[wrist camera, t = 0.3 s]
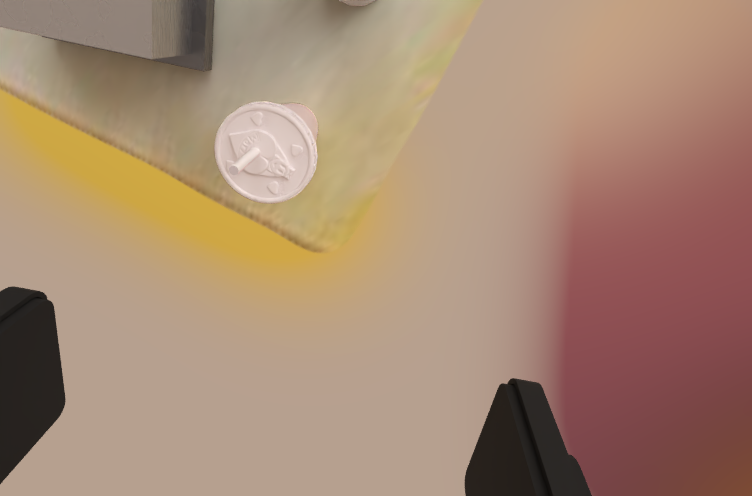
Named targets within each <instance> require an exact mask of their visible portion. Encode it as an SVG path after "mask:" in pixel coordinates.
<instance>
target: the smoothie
mask: <svg viewBox="0 0 752 496" xmlns="http://www.w3.org/2000/svg"><path fill="white" fill-rule="evenodd" d="M317 134H318V122H317V119H316V117H315V115H314V114H313V112H312V111H311V110H310V109H309V108H307V107H306V106H304V105H302V104H298V103H288V104H277V103H272V102H268V101H261V102H251V103H249V104H246V105H243V106H240V107H239V108H238V109H236V110H235V111H234V112H232V113H231V114H230V115H228V116H227V117H226V119H225V120H224V121H223V122H222V124H221V125H220V127H219V129H218V132H217V135H216V138H215V146H214V151H215V158H216V162H217V166H218V168H219V170H220V172H221V174H222V176H223V178H224V179H225V180H226V182H227V183H228V184H229V185H230V186H231V187H232V188H233V189H234V190H235V191H236V192H238V193H239V194H241V195H242V196H244V197H246V198H248V199H250V200H253V201H256V202H260V203H279V202H283V201H286V200H289V199H291V198H293V197H294V196H296V195H297V194H299V193H300V192H301V191H302V190H303V189H304V188H305V187H306V185H307V184H308V183H309V182H310V181H311V179H312V176H313V174H314V172H315V170H316V164H317V158H318V156H317V148H316V139H317Z"/></svg>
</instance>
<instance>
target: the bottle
mask: <svg viewBox="0 0 752 496" xmlns="http://www.w3.org/2000/svg"><path fill="white" fill-rule="evenodd" d="M339 1H341V2H343V3H345V4H347V5H354V6H365V5H367V4H370V3H372V2H374V1H377V0H339Z"/></svg>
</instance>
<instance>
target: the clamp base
mask: <svg viewBox="0 0 752 496" xmlns="http://www.w3.org/2000/svg"><path fill="white" fill-rule="evenodd" d="M213 20H214V0H0V27H3V28H8V29H13V30H17V31H22V32H27V33H31V34H36V35H41V36H42V37H46V38H51V39H56V40H60V41H65V42H70V43H74V44H79V45H84V46H88V47H93V48H98V49H102V50H107V51H112V52H116V53H121V54H126V55H130V56H135V57H140V58H144V59H149V60H154V61H159V62H163V63H168V64H173V65H177V66H182V67H187V68H191V69H196V70H201V71H207V70H211V63H212V41H213Z"/></svg>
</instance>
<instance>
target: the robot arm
mask: <svg viewBox="0 0 752 496" xmlns="http://www.w3.org/2000/svg"><path fill="white" fill-rule="evenodd" d="M54 312H55V311H54V306H53V304H52V302H51V301H49V300H47V296H46V295H45V294H44V293H43V292H40V291H35V290H30V289H24V288H19V287H8V288H6V289H4V290H2V291H1V292H0V484H1V483H2V481H3V480H4V479H5V478H6V477H7V476H8V475H9V473H10V472H11V471H12V470H13V469H14V468H15V467H16V465H17V464H18V463H19V462H20V461H21V460H22V459H23V458H24V456H25V455H26V454H27V453H28V452H29V451H30V449H31V448H32V447H33V446H34V445H35V444H36V443H37V442H38V440H39V439H40V438H41V437H42V436H43V435H44V433H45V432H46V431H47V430H48V429H49V428H50V427H51V426H52V425H53V423H54V422H55V421H56V420H57V419H58V418H59V416H60V415H61V413H62V411H63V408H64V405H65V392H64V384H63V376H62V368H61V360H60V352H59V344H58V336H57V328H56V320H55V313H54ZM465 493H466V496H592V495H591V493H590V490H589V488H588V485H587V483H586V480H585V478H584V476H583V473H582V470H581V468H580V466H579V464H578V462H577V460H576V459H575V458H574V457H573V456H572V455H568V453H567V450H566V448H565V445H564V442H563V440H562V437H561V435H560V432H559V429H558V427H557V424H556V422H555V419H554V417H553V414H552V411H551V409H550V406H549V404H548V401H547V398H546V396H545V394H544V391H543V388H542V386H541V385H540V384H539V383H536V382H531V381H526V380H520V379H514V378H513V379H510V380H509V382H508V384H501V385H500V386H499V388H498V390H497V392H496V395H495V398H494V400H493V403H492V405H491V408H490V411H489V413H488V416H487V418H486V421H485V424H484V426H483V429H482V432H481V434H480V437H479V439H478V442H477V444H476V447H475V450H474V452H473V455H472V457H471V460H470V463H469V465H468V468H467V471H466V475H465Z"/></svg>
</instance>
